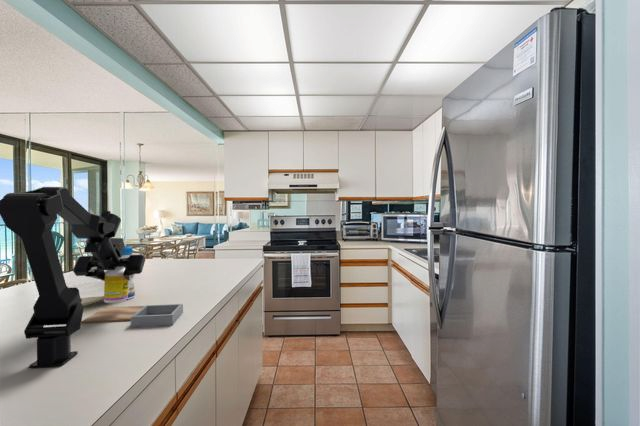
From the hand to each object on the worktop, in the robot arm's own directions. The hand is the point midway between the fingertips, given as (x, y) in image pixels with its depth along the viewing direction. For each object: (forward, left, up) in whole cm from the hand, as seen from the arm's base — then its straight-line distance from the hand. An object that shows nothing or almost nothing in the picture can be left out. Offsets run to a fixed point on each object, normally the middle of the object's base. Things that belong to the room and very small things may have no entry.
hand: (118, 279), depth 107 cm
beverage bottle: (+20, +7, -11) cm, 24 cm away
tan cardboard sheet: (-1, 0, -11) cm, 11 cm away
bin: (-8, -15, -11) cm, 20 cm away
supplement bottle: (-1, 0, -7) cm, 7 cm away
